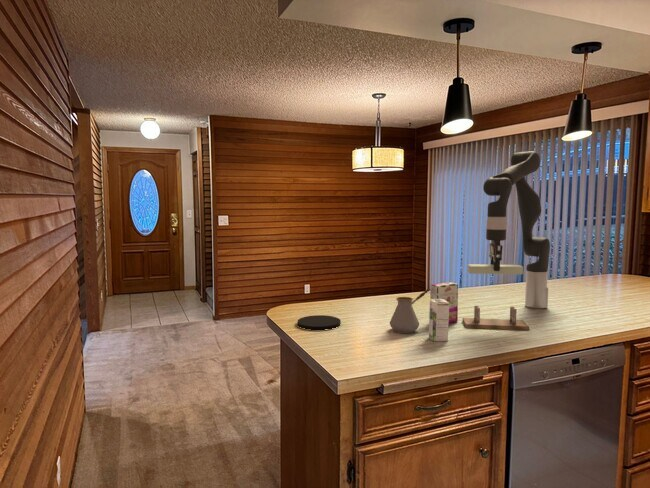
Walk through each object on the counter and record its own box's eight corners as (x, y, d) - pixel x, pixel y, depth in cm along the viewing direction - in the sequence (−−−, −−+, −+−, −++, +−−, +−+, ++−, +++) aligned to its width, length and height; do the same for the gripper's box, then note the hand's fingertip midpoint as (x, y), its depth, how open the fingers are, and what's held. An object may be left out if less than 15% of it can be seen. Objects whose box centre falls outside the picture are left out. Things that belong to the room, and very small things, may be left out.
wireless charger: (336, 318, 198) (336, 314, 198) (344, 330, 181) (344, 325, 181) (295, 320, 195) (295, 316, 195) (300, 332, 178) (300, 327, 178)
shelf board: (518, 272, 185) (518, 264, 185) (522, 274, 179) (522, 266, 179) (467, 271, 188) (467, 264, 188) (470, 273, 182) (470, 266, 182)
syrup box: (428, 337, 170) (428, 298, 169) (443, 336, 171) (444, 298, 169) (433, 341, 164) (433, 302, 163) (448, 341, 165) (449, 301, 164)
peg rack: (522, 323, 188) (523, 305, 187) (529, 330, 178) (529, 311, 178) (462, 321, 192) (462, 303, 191) (465, 327, 182) (466, 309, 182)
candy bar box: (449, 319, 195) (450, 281, 194) (457, 322, 191) (458, 283, 189) (429, 322, 190) (429, 284, 189) (437, 325, 186) (438, 286, 184)
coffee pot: (405, 336, 171) (405, 297, 169) (383, 330, 180) (383, 292, 178) (441, 326, 184) (441, 290, 182) (419, 321, 193) (419, 286, 191)
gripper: (510, 229, 174) (508, 272, 176) (502, 227, 189) (501, 267, 190) (489, 229, 176) (488, 272, 177) (483, 227, 190) (482, 267, 191)
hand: (494, 269), depth 184 cm, fingers closed on shelf board, 6 cm apart
